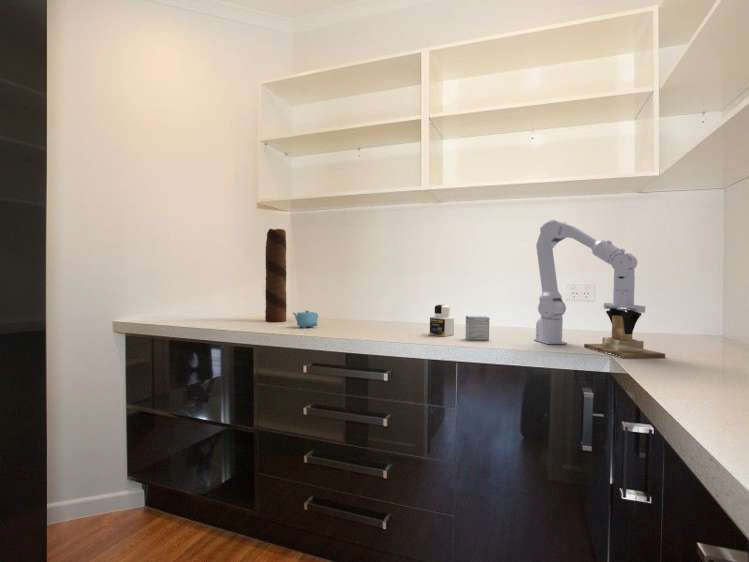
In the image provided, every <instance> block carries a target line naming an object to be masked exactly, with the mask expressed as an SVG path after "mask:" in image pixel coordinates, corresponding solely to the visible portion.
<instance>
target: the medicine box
mask: <svg viewBox="0 0 749 562" xmlns="http://www.w3.org/2000/svg"><path fill="white" fill-rule="evenodd" d="M465 339H466V340H467V341H490V317H489V316H487V315H485V316H484V315H466V316H465Z"/></svg>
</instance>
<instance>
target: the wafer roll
mask: <svg viewBox="0 0 749 562" xmlns="http://www.w3.org/2000/svg"><path fill="white" fill-rule="evenodd" d="M264 318H265V321H266V322H268V323H269V322H270V323H283V322H284V323H285V322H287V233H286V230H285V229H282V228H276V229H275V228H274V229H273V228H269V229H268V231H267V233H266V242H265V317H264Z"/></svg>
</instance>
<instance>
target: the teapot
mask: <svg viewBox="0 0 749 562" xmlns="http://www.w3.org/2000/svg"><path fill="white" fill-rule="evenodd" d="M292 315H294V318H295V321H296V325H297V326H299V327H300V328H302V329H307V327H308V328H311V329H314V328H315V327H317V326H318V318H319V314H318V313H317V312H313V311H310V310H305V311H304V312H302V311H301V312H297V313H296V312H292Z"/></svg>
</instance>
